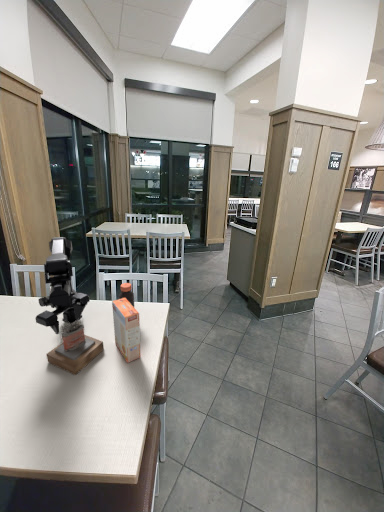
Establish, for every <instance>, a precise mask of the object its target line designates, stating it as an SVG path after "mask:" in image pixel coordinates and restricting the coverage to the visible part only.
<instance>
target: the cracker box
mask: <svg viewBox="0 0 384 512" xmlns="http://www.w3.org/2000/svg"><path fill="white" fill-rule="evenodd" d="M111 304H112V317H113V331H114V341H115V345H116V346H117V348H118V350H119V351H120V354H121V355H122V357H123V358H124V360H125V361H126V363H127V364H128V363H131V362H133V361H135V360H137V359H139V358H141V331H140V313H139V311H138V310H137V308H135V306H134V307H133V306H132V305H131V304H130V302H129V301H128V300H127V299H126V298H122V299H119V298H118V299H115V300H112V301H111Z"/></svg>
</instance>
